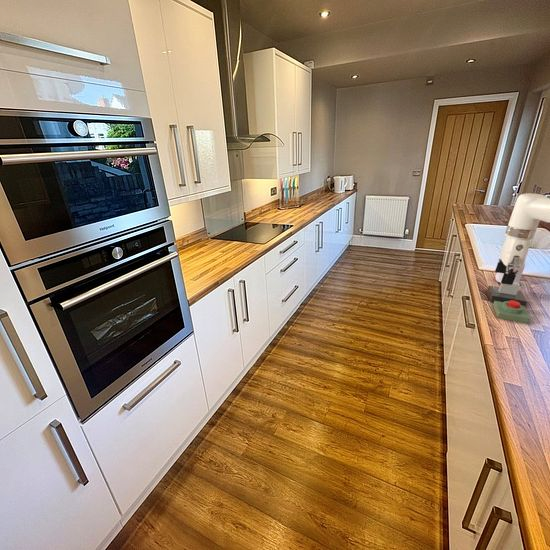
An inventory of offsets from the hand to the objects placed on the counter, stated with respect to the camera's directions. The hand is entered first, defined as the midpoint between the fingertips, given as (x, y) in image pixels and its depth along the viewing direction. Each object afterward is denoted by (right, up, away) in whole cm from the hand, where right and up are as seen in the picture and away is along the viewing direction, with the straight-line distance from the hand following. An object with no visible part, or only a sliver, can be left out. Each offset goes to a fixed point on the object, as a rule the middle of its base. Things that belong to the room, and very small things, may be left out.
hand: (503, 278), depth 104 cm
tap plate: (+18, -9, +22) cm, 30 cm away
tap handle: (+18, -7, +21) cm, 28 cm away
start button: (+12, -11, +10) cm, 19 cm away
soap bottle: (+30, -2, +37) cm, 48 cm away
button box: (+12, -14, +12) cm, 22 cm away
